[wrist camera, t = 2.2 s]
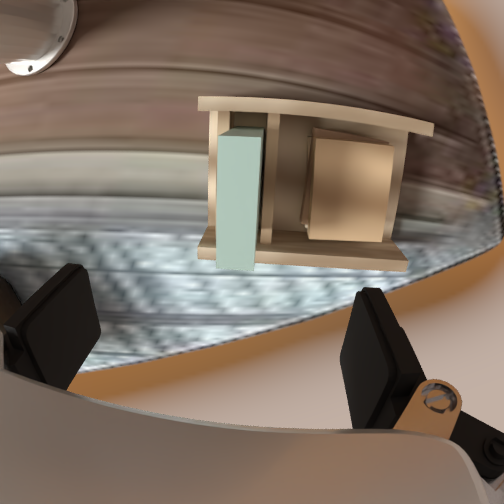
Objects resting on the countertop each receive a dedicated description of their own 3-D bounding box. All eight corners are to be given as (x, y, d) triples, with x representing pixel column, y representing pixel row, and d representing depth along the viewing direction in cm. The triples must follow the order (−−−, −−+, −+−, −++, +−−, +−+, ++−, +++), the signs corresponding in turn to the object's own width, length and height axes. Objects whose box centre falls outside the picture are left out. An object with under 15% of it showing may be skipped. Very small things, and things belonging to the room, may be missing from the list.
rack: (213, 99, 30) (198, 96, 23) (403, 119, 29) (434, 123, 23) (210, 231, 36) (197, 258, 29) (384, 243, 35) (405, 271, 29)
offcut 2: (313, 136, 26) (315, 138, 25) (388, 144, 26) (394, 146, 25) (307, 232, 30) (309, 239, 29) (376, 235, 30) (381, 242, 29)
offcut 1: (312, 127, 28) (315, 128, 26) (383, 140, 28) (389, 142, 26) (299, 218, 31) (300, 223, 30) (366, 227, 31) (370, 233, 30)
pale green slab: (237, 126, 29) (218, 135, 19) (264, 127, 29) (261, 137, 18) (234, 213, 33) (216, 268, 22) (259, 215, 33) (253, 270, 22)
